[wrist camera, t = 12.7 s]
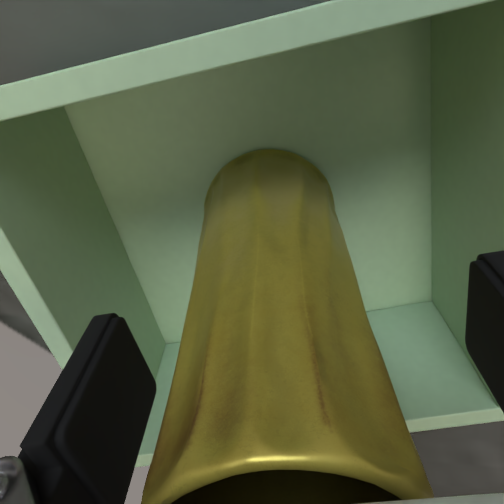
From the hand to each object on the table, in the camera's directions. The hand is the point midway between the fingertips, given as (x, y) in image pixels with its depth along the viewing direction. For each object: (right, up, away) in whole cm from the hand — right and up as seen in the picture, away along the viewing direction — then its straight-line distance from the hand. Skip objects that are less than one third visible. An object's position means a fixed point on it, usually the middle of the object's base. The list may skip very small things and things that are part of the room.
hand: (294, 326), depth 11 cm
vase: (0, +4, +8) cm, 9 cm away
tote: (0, +4, +9) cm, 10 cm away
